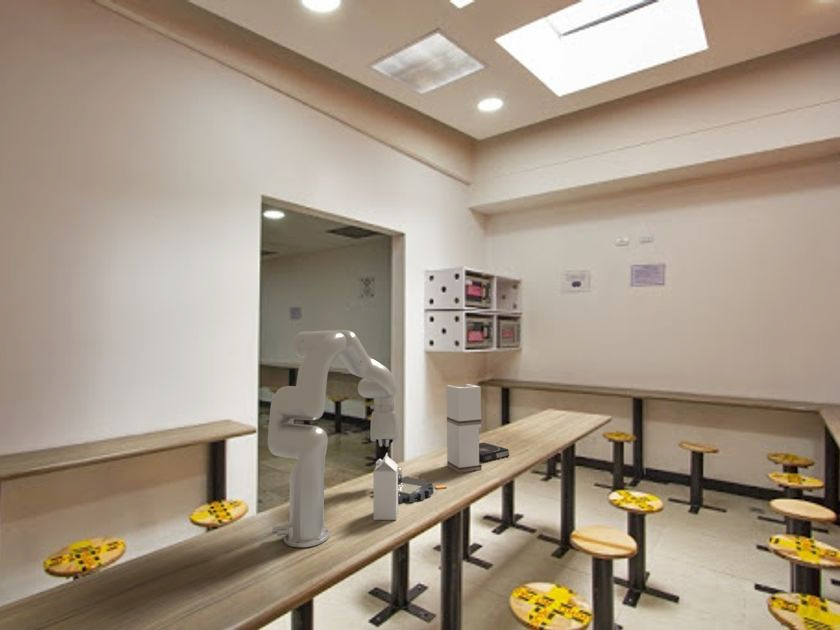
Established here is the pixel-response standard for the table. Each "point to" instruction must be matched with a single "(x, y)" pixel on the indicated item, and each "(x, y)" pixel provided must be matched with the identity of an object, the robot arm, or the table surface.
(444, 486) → the block
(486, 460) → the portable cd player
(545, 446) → the table surface
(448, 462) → the banded white pillar
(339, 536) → the table surface
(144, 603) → the table surface
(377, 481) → the milk carton
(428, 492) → the sprocket
